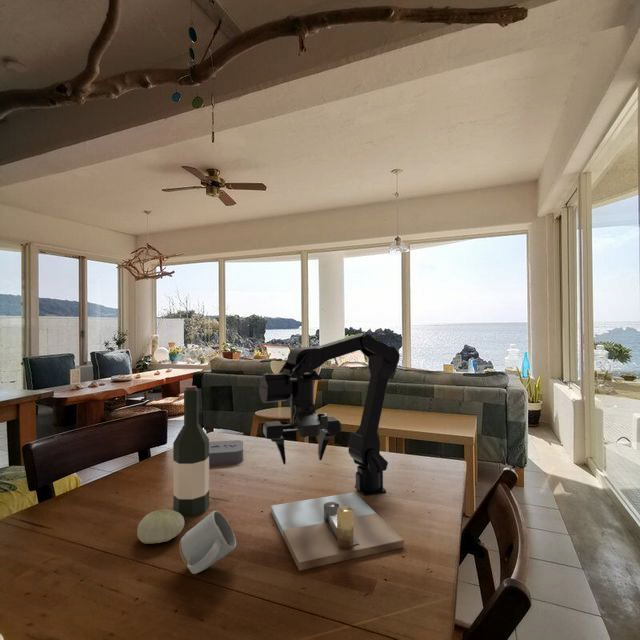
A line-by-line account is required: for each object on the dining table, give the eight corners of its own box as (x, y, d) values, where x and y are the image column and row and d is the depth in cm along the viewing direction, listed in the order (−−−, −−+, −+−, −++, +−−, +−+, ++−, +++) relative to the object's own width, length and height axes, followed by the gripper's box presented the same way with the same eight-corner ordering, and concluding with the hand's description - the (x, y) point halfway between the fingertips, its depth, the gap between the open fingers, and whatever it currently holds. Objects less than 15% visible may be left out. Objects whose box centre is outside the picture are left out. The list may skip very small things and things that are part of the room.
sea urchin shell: (171, 538, 78) (145, 508, 79) (148, 566, 79) (122, 536, 80) (195, 517, 87) (171, 490, 88) (174, 542, 88) (150, 515, 89)
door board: (354, 497, 102) (354, 491, 102) (403, 547, 80) (403, 538, 80) (270, 511, 95) (270, 504, 95) (299, 570, 72) (299, 561, 72)
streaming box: (202, 468, 125) (202, 453, 125) (205, 455, 137) (205, 442, 137) (243, 465, 127) (243, 451, 127) (242, 452, 140) (242, 439, 140)
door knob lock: (322, 516, 88) (321, 487, 89) (336, 514, 89) (336, 485, 89) (339, 549, 76) (339, 515, 76) (356, 546, 76) (356, 512, 76)
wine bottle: (216, 505, 99) (215, 385, 99) (192, 520, 91) (192, 390, 91) (190, 499, 102) (190, 383, 102) (165, 513, 94) (165, 388, 95)
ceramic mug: (203, 570, 75) (185, 532, 77) (240, 544, 76) (222, 507, 79) (181, 585, 65) (162, 541, 68) (225, 555, 66) (204, 512, 69)
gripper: (270, 408, 87) (270, 478, 87) (349, 402, 93) (349, 469, 93) (262, 399, 98) (262, 462, 98) (333, 394, 104) (333, 454, 103)
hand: (302, 462), depth 98 cm, fingers open, 9 cm apart
